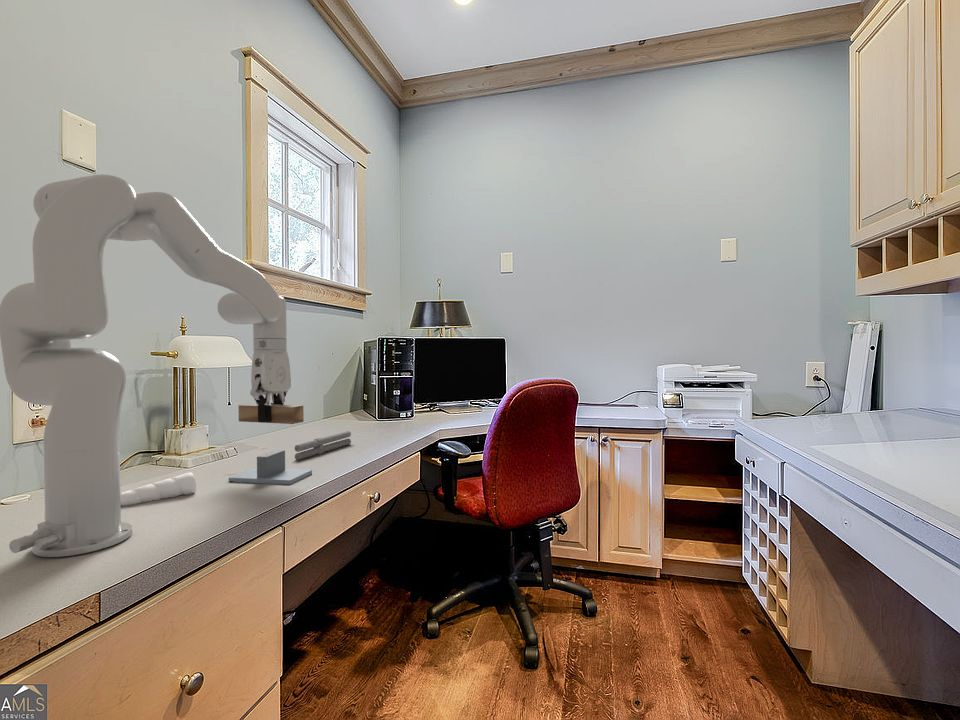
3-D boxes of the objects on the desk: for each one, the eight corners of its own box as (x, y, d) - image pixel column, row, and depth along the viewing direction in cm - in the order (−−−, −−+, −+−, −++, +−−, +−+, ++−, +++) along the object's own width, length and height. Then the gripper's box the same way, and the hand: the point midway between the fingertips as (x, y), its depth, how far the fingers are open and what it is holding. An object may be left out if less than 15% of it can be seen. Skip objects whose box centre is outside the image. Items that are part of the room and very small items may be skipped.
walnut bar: (292, 424, 114) (292, 407, 114) (238, 421, 119) (238, 405, 119) (303, 421, 118) (303, 405, 118) (250, 419, 123) (250, 403, 123)
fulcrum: (290, 484, 113) (289, 458, 112) (228, 481, 115) (228, 456, 115) (312, 473, 122) (311, 450, 122) (254, 471, 125) (254, 448, 125)
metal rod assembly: (345, 444, 163) (344, 430, 162) (352, 445, 162) (352, 430, 162) (292, 461, 138) (292, 443, 138) (300, 461, 137) (300, 444, 137)
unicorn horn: (52, 514, 93) (51, 489, 93) (192, 491, 109) (192, 470, 109) (52, 520, 90) (51, 495, 90) (197, 495, 105) (197, 474, 105)
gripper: (263, 345, 109) (264, 426, 110) (302, 346, 126) (303, 416, 126) (233, 346, 111) (234, 425, 111) (276, 346, 127) (277, 415, 128)
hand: (271, 419), depth 119 cm, fingers closed on walnut bar, 4 cm apart
